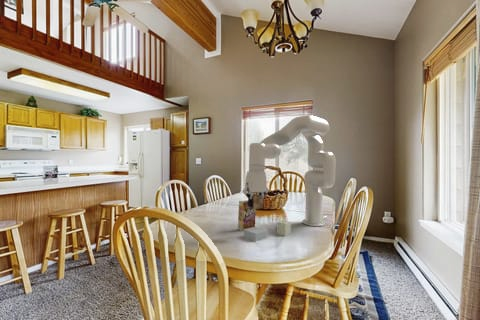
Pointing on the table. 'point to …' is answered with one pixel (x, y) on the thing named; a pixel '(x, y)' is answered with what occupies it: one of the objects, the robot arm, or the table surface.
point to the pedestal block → (255, 233)
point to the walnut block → (257, 201)
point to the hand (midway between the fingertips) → (255, 206)
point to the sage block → (283, 227)
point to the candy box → (246, 216)
